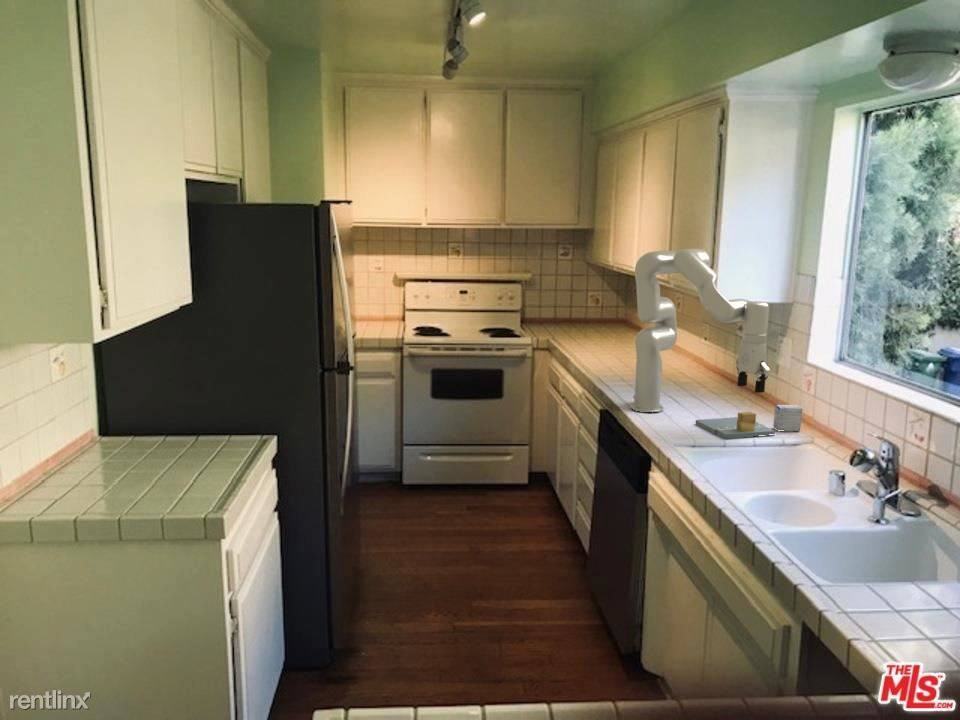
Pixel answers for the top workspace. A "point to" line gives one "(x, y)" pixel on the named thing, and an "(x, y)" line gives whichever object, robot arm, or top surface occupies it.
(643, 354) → the robot arm
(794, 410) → the medicine box
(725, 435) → the grey-blue slab
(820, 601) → the top surface
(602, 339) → the top surface
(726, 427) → the board
